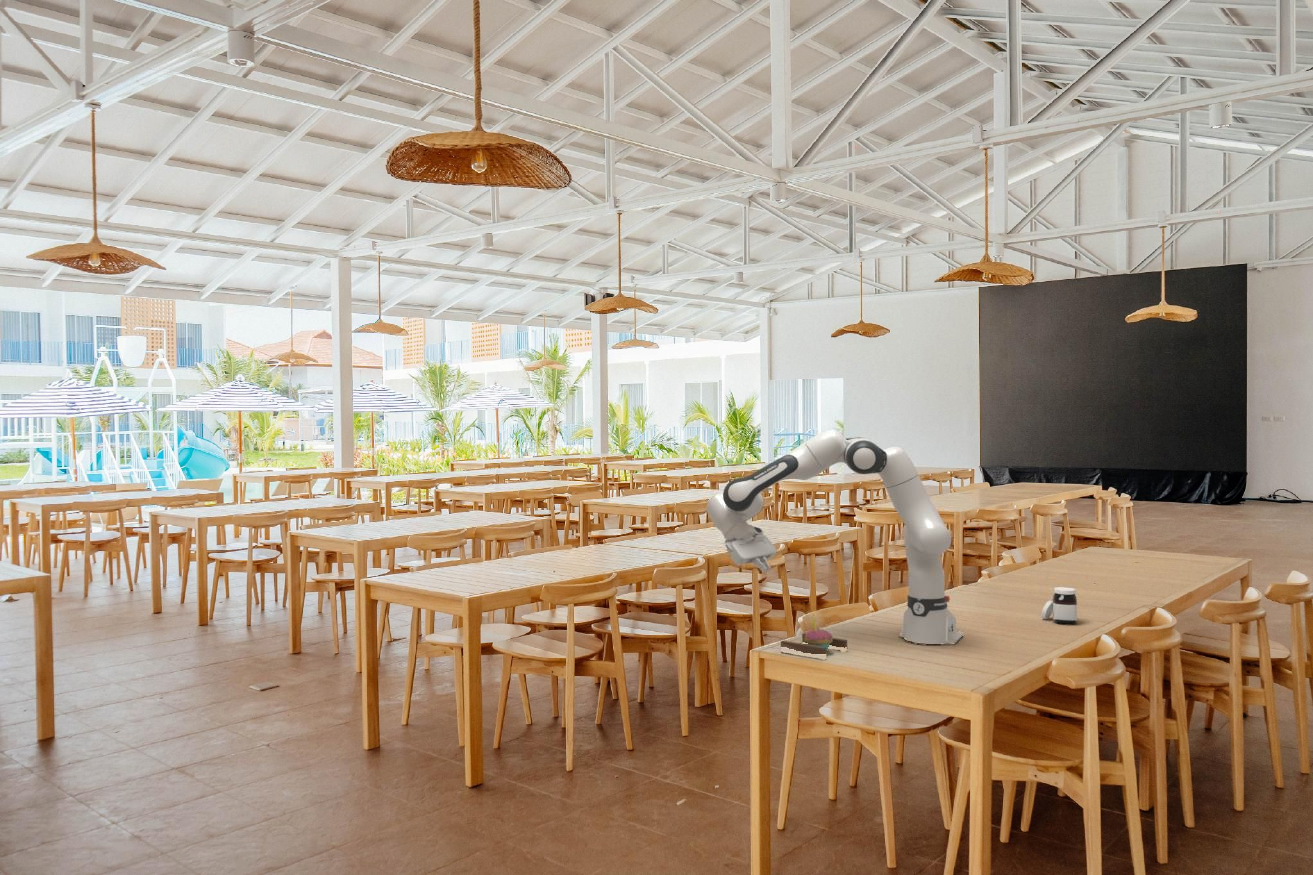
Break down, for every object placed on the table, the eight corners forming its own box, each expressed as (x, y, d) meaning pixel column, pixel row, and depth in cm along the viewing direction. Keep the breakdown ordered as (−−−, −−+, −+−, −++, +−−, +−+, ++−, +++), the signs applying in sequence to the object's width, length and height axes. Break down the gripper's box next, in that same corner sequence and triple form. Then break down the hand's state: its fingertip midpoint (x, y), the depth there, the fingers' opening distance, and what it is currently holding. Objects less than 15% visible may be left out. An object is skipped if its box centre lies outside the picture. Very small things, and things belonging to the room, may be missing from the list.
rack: (804, 644, 306) (804, 633, 306) (847, 651, 296) (847, 639, 296) (780, 652, 295) (780, 641, 295) (824, 660, 285) (824, 648, 285)
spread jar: (1078, 626, 328) (1078, 591, 328) (1042, 624, 332) (1042, 590, 331) (1075, 619, 339) (1075, 585, 339) (1040, 617, 343) (1040, 584, 343)
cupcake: (818, 657, 289) (818, 617, 288) (798, 652, 296) (798, 613, 295) (838, 653, 294) (838, 613, 294) (818, 648, 301) (818, 609, 300)
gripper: (728, 534, 303) (754, 568, 297) (764, 527, 318) (790, 560, 312) (716, 547, 306) (742, 581, 299) (753, 540, 321) (778, 572, 315)
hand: (767, 570), depth 306 cm, fingers closed
